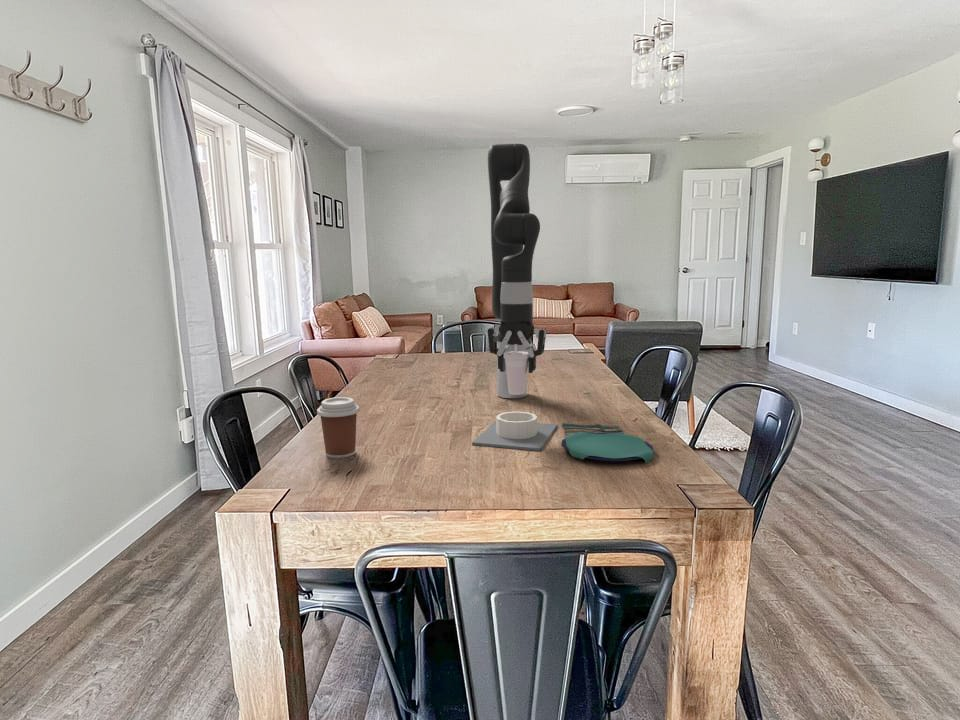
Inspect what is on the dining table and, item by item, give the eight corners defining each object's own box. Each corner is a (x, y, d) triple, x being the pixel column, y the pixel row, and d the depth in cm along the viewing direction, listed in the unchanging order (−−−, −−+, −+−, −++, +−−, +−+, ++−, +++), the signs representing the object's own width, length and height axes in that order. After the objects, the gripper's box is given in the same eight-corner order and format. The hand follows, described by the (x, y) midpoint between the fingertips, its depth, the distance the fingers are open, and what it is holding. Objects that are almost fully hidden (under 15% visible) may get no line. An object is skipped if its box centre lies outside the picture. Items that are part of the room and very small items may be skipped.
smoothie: (498, 394, 138) (498, 335, 135) (510, 389, 143) (510, 332, 141) (523, 397, 135) (523, 337, 132) (534, 391, 140) (534, 334, 138)
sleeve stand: (496, 421, 152) (496, 404, 152) (557, 426, 147) (557, 409, 147) (472, 444, 134) (471, 425, 133) (540, 451, 129) (540, 431, 128)
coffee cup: (344, 444, 135) (341, 394, 133) (370, 452, 129) (367, 399, 127) (310, 454, 128) (307, 401, 126) (336, 463, 122) (333, 408, 120)
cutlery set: (565, 467, 119) (565, 456, 119) (553, 428, 149) (554, 419, 148) (663, 469, 118) (664, 458, 118) (632, 429, 148) (632, 420, 147)
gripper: (550, 300, 136) (549, 370, 139) (491, 300, 141) (492, 367, 144) (543, 303, 129) (543, 376, 132) (482, 302, 134) (483, 373, 137)
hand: (516, 371), depth 138 cm, fingers closed on smoothie, 6 cm apart
